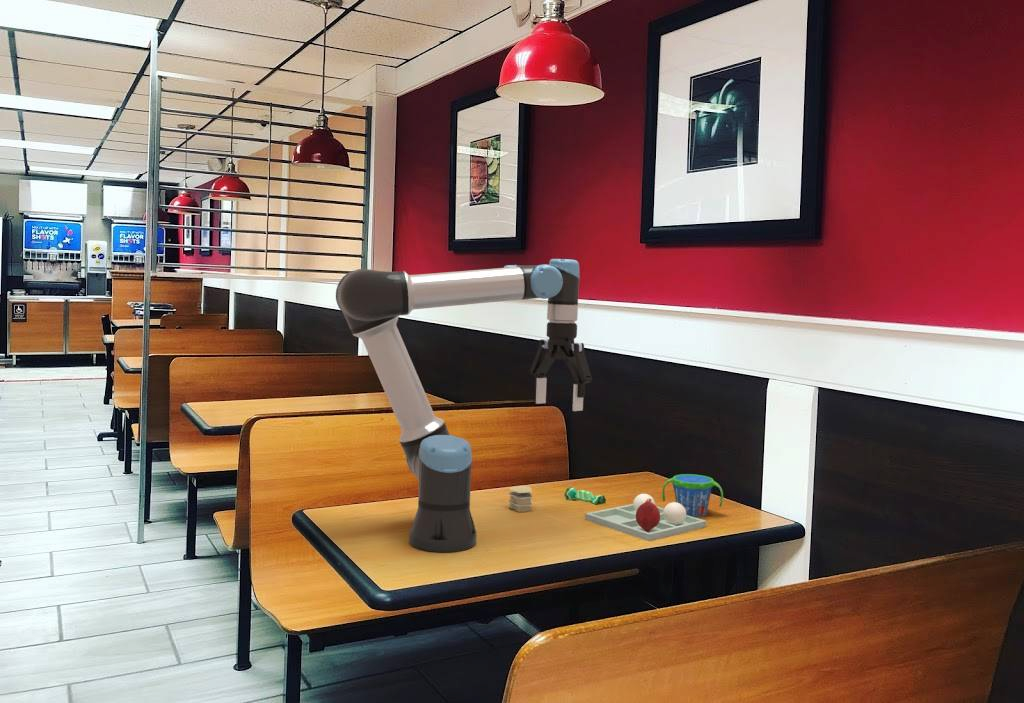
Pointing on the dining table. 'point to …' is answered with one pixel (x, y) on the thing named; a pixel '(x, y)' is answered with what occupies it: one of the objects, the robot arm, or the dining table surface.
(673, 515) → the egg far right
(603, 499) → the candy
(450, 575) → the dining table surface
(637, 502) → the egg far left
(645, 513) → the onion
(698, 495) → the snack cup
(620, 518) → the egg tray
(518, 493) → the layered cracker stack
